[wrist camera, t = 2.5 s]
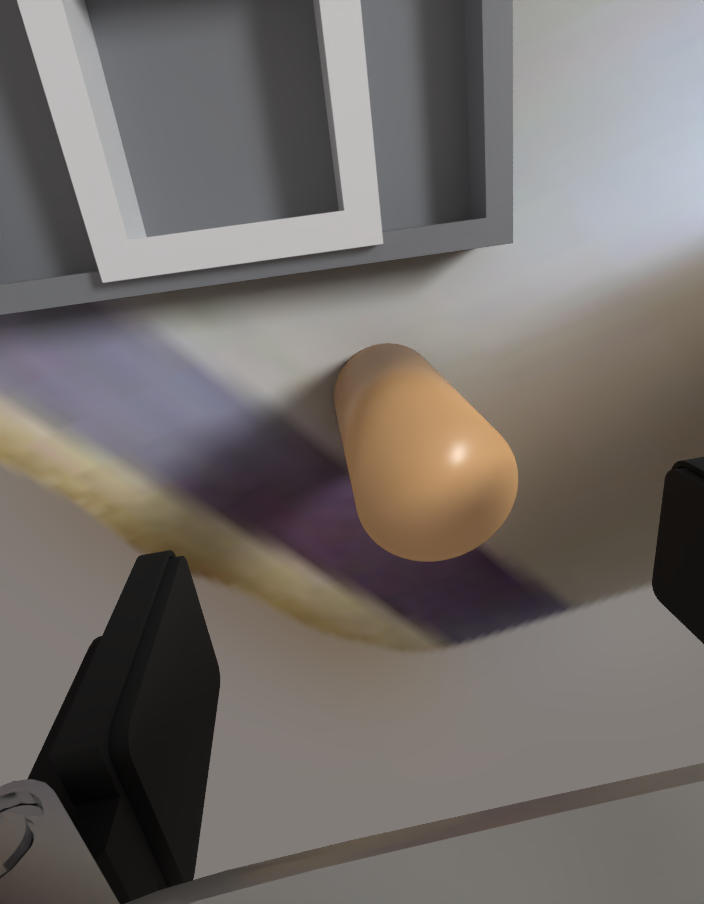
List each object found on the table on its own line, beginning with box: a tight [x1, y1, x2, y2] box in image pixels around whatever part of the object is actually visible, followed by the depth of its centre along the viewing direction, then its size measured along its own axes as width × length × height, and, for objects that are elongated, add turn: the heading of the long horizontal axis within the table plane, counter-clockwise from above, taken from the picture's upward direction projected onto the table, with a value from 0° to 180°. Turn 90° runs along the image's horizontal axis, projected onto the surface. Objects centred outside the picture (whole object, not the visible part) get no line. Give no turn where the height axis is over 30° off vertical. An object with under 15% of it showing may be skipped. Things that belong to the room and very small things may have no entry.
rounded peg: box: [334, 343, 518, 562], centre depth 16 cm, size 4×4×8 cm
